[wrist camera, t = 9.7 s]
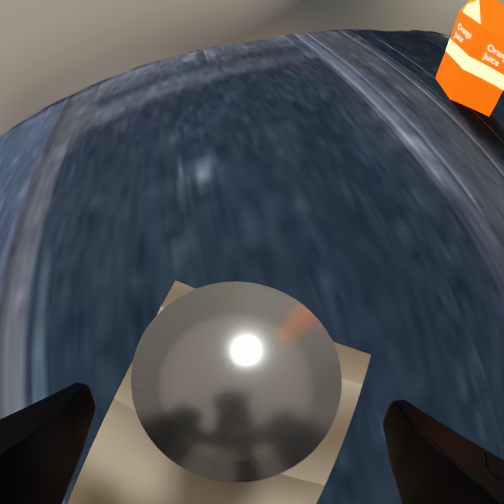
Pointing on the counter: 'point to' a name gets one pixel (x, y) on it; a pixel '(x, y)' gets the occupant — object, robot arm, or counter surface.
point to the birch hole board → (192, 485)
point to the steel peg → (236, 382)
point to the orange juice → (475, 56)
